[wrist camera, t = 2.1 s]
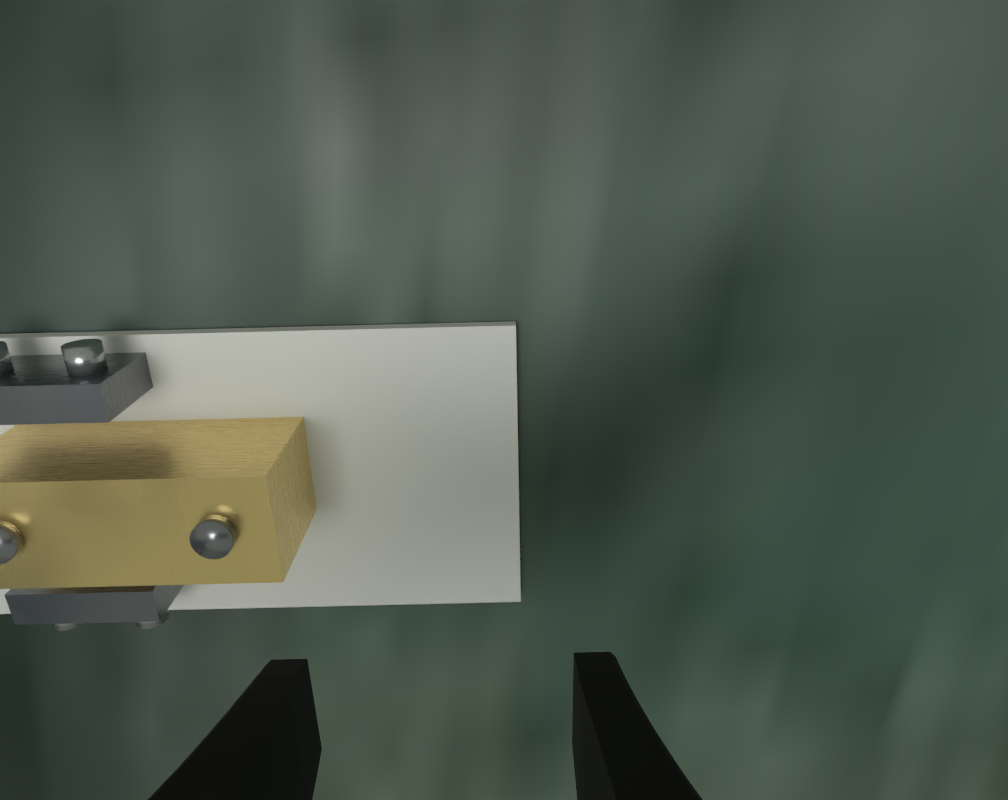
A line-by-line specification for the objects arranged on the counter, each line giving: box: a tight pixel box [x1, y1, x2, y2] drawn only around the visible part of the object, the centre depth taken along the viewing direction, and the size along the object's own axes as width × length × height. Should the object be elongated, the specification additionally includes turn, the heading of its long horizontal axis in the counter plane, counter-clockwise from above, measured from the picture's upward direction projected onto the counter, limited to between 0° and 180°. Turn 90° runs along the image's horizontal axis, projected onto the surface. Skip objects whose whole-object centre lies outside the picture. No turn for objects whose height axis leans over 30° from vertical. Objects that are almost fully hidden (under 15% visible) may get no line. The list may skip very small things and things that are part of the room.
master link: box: [0, 417, 316, 589], centre depth 19 cm, size 3×8×4 cm, turn 91°
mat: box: [0, 321, 521, 614], centre depth 21 cm, size 9×23×1 cm, turn 91°
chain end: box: [0, 339, 184, 631], centre depth 19 cm, size 8×4×2 cm, turn 1°
